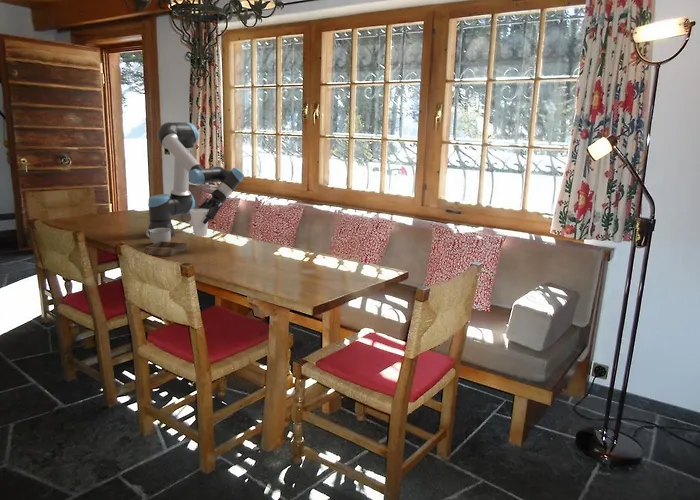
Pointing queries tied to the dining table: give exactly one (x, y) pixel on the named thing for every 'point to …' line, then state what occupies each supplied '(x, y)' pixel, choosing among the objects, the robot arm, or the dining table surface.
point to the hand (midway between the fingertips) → (194, 226)
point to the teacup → (159, 235)
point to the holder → (165, 248)
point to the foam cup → (197, 218)
